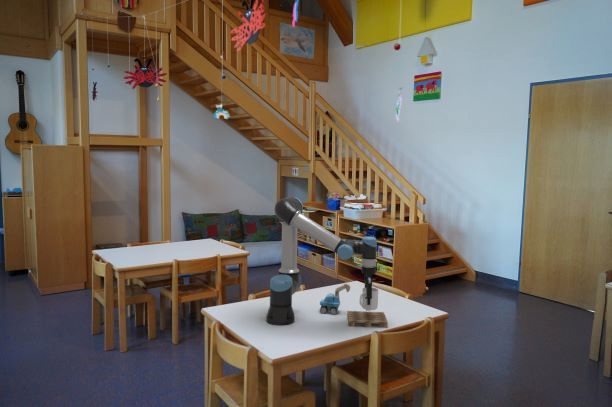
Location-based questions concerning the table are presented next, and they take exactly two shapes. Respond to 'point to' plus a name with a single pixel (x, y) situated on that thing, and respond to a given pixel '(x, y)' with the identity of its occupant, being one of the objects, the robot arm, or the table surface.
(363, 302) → the cup
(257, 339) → the table surface
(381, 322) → the wooden pallet
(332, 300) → the toy excavator
